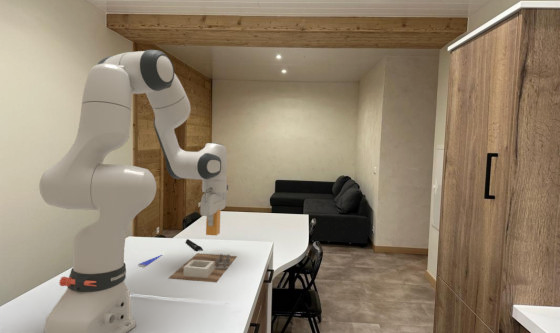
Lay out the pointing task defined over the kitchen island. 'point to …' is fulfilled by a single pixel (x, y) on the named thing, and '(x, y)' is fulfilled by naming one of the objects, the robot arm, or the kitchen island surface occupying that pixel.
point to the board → (220, 267)
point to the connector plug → (216, 227)
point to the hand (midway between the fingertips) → (213, 224)
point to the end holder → (199, 268)
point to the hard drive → (148, 262)
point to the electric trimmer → (193, 245)
